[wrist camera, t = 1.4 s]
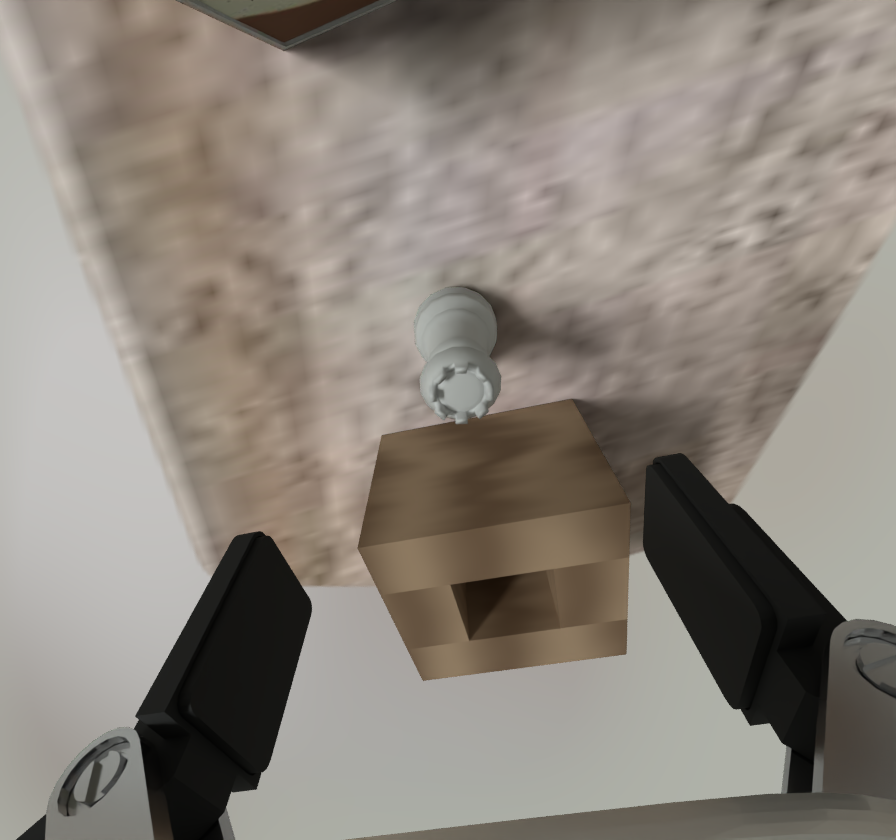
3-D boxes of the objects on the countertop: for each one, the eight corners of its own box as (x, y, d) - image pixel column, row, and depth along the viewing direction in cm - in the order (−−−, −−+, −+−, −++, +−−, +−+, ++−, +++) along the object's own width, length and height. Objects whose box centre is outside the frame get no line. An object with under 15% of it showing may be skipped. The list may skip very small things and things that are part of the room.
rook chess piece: (419, 277, 21) (410, 331, 14) (504, 291, 21) (534, 351, 15) (409, 357, 23) (396, 436, 16) (485, 369, 24) (504, 451, 17)
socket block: (571, 399, 25) (630, 503, 17) (580, 533, 31) (626, 654, 23) (381, 435, 26) (357, 548, 18) (426, 558, 32) (422, 680, 25)
